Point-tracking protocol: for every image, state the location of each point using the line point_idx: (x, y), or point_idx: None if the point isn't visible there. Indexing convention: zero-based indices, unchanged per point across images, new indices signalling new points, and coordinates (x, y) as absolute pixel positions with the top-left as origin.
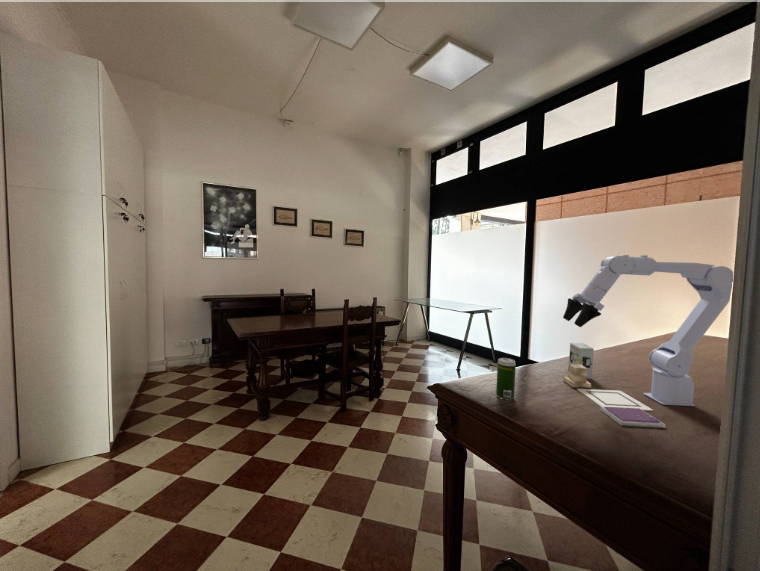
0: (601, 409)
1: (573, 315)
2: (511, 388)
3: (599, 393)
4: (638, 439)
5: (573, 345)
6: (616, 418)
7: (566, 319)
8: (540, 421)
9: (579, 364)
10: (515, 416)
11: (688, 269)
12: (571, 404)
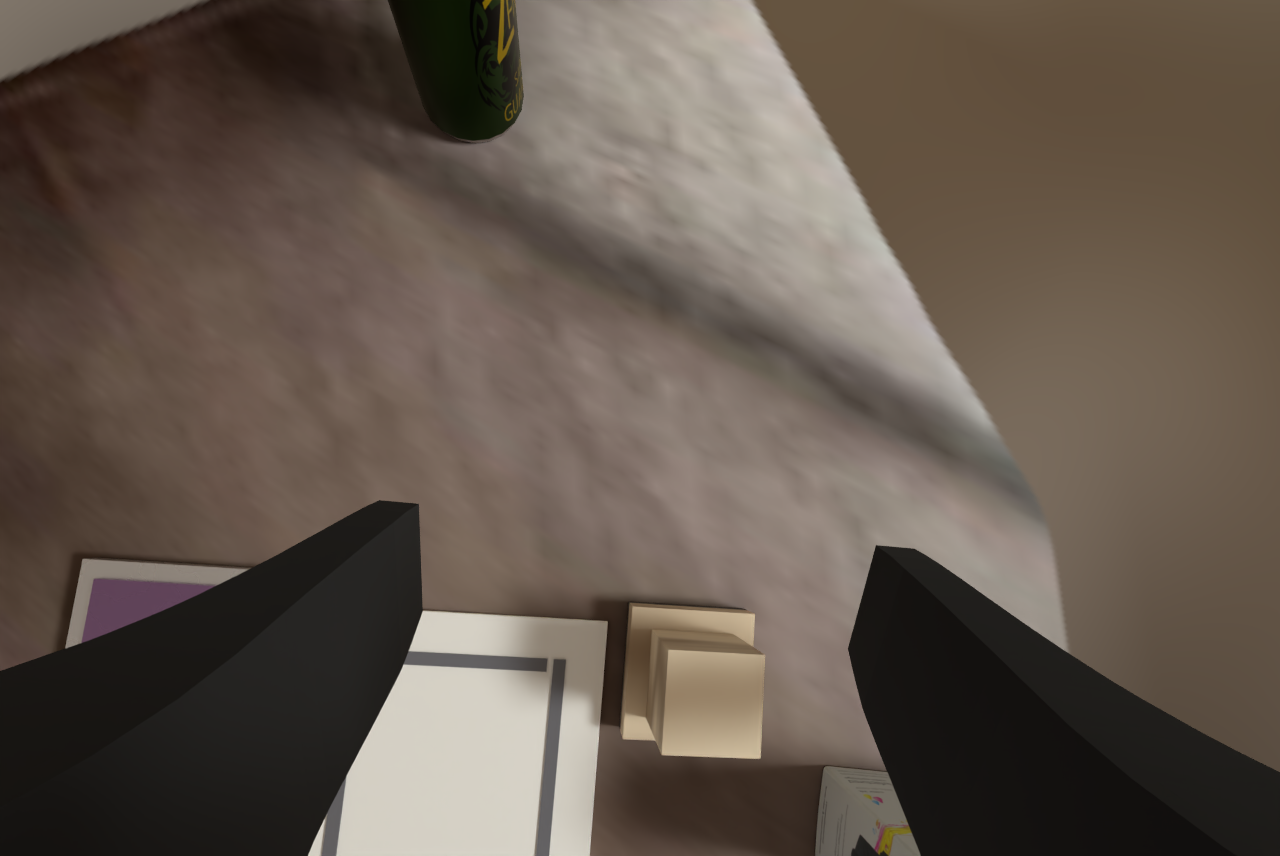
0: None
1: (910, 796)
2: (409, 64)
3: (529, 730)
4: None
5: None
6: (126, 561)
7: (864, 607)
8: (171, 146)
9: (871, 813)
10: (232, 50)
11: None
12: (375, 438)
